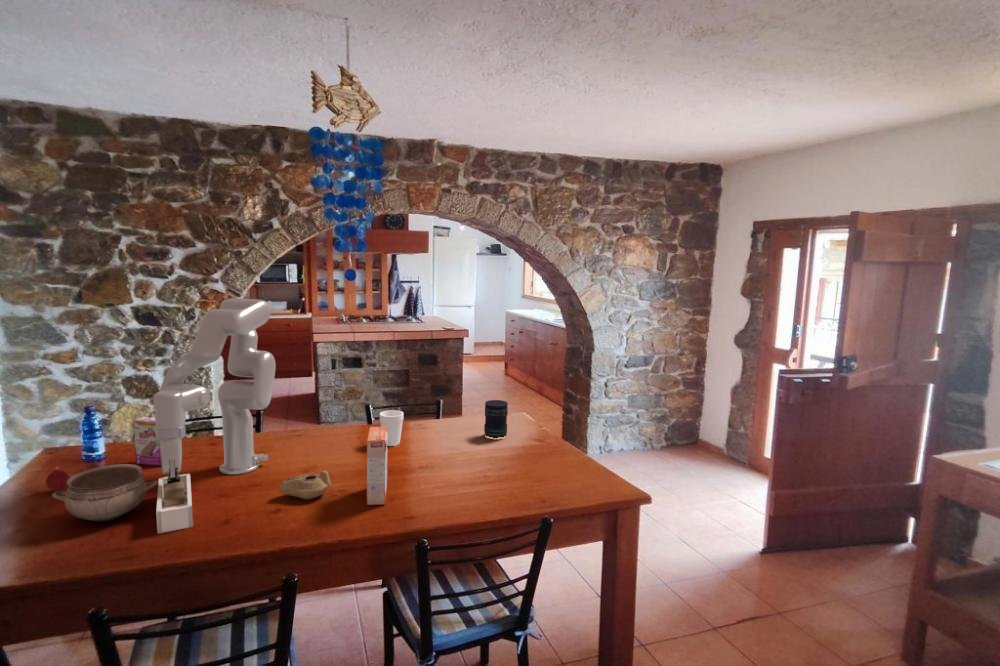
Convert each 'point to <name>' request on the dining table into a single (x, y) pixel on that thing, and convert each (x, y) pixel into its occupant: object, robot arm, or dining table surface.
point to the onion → (57, 479)
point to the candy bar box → (146, 442)
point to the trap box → (174, 508)
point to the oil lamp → (306, 485)
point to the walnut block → (174, 494)
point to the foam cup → (392, 425)
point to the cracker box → (377, 466)
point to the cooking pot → (105, 492)
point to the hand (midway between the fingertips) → (174, 491)
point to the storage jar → (496, 418)
